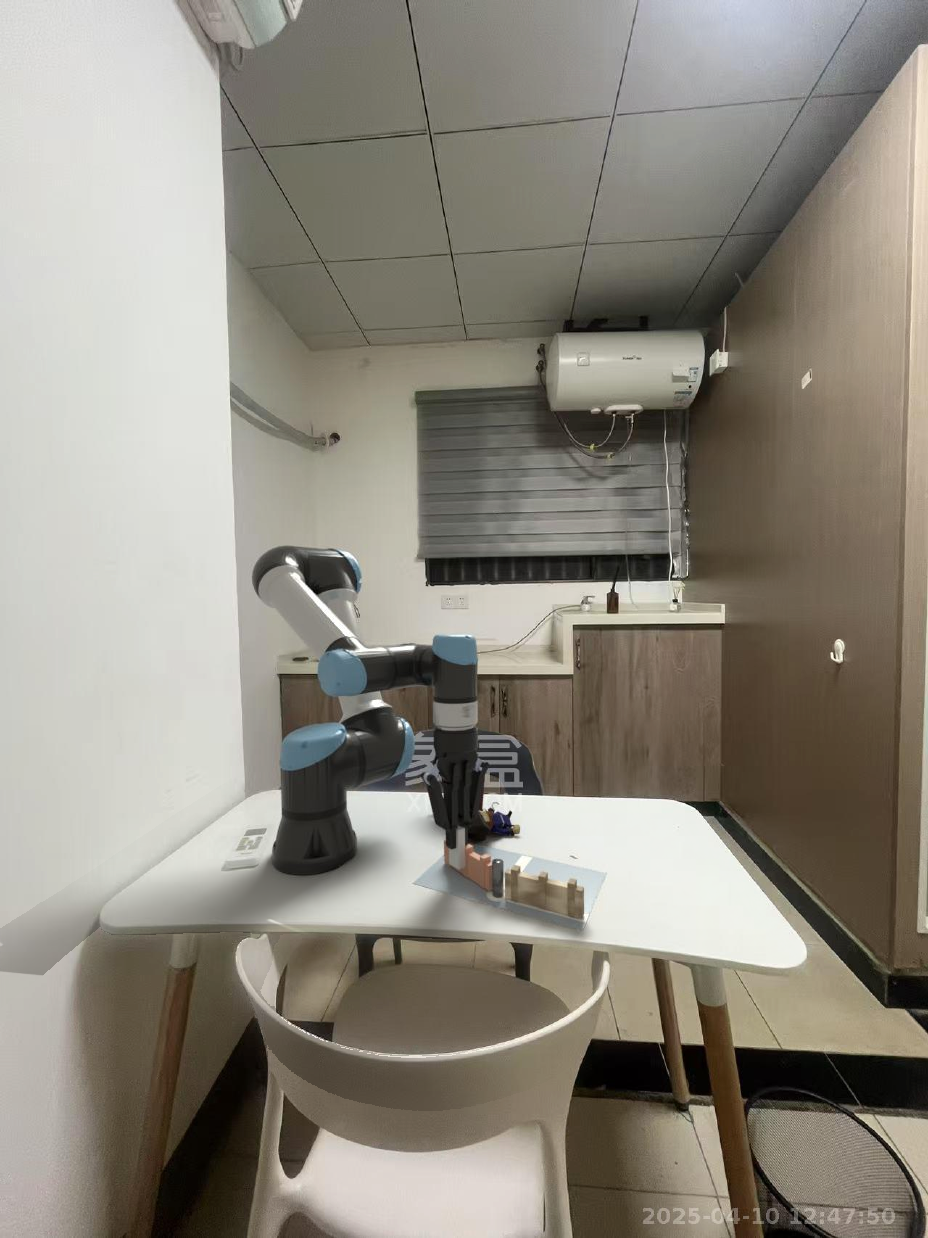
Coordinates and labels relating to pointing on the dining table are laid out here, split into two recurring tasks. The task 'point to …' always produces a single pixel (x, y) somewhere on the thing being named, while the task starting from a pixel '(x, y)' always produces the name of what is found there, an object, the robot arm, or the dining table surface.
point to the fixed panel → (544, 892)
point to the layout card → (464, 887)
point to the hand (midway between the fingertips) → (457, 865)
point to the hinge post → (497, 878)
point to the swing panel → (474, 866)
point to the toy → (491, 825)
